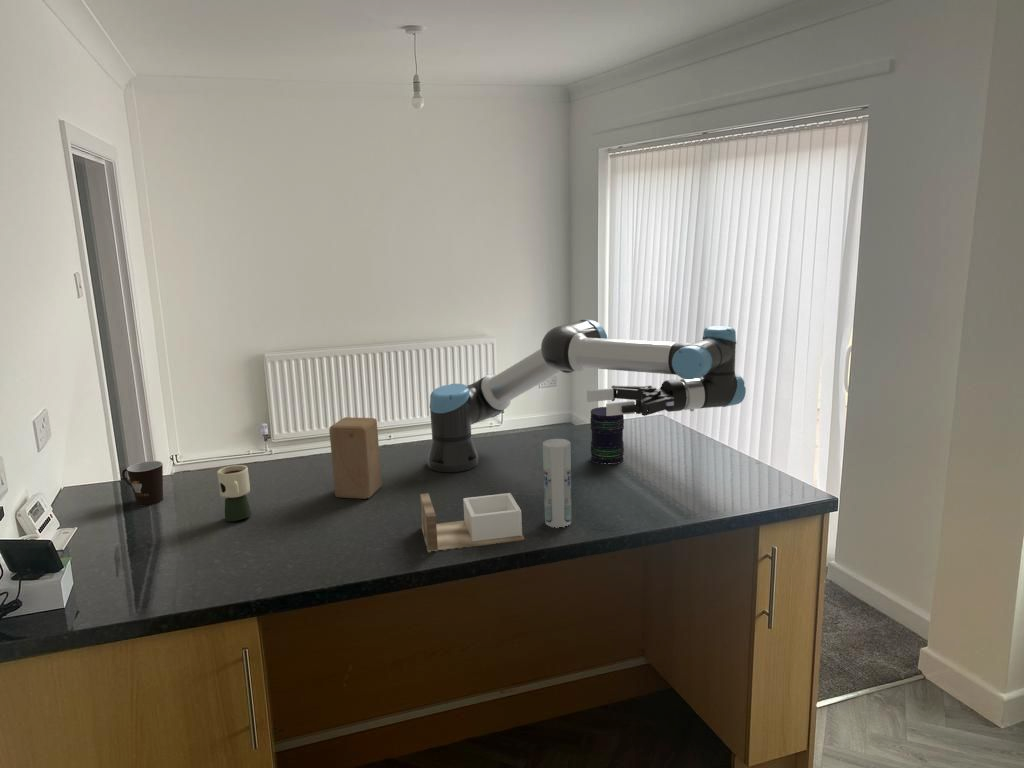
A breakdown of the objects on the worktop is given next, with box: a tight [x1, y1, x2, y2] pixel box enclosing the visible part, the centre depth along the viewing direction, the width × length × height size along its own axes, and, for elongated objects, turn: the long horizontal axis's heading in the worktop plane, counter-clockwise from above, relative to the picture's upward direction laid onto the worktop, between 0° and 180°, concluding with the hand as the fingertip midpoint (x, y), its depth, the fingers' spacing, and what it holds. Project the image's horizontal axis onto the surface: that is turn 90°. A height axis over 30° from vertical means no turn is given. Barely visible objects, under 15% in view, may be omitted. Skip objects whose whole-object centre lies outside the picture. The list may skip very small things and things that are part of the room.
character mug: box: [216, 464, 252, 522], centre depth 183 cm, size 11×7×13 cm, turn 26°
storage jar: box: [590, 406, 625, 465], centre depth 217 cm, size 10×10×15 cm
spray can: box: [542, 438, 572, 529], centre depth 173 cm, size 6×6×20 cm
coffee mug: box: [121, 460, 164, 506], centre depth 198 cm, size 12×9×10 cm
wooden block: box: [329, 416, 383, 500], centre depth 197 cm, size 10×10×20 cm
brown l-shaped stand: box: [419, 492, 525, 553], centre depth 170 cm, size 14×22×8 cm, turn 103°
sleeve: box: [462, 492, 523, 542], centre depth 171 cm, size 12×12×6 cm
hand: (596, 402), depth 171 cm, fingers open, 13 cm apart
